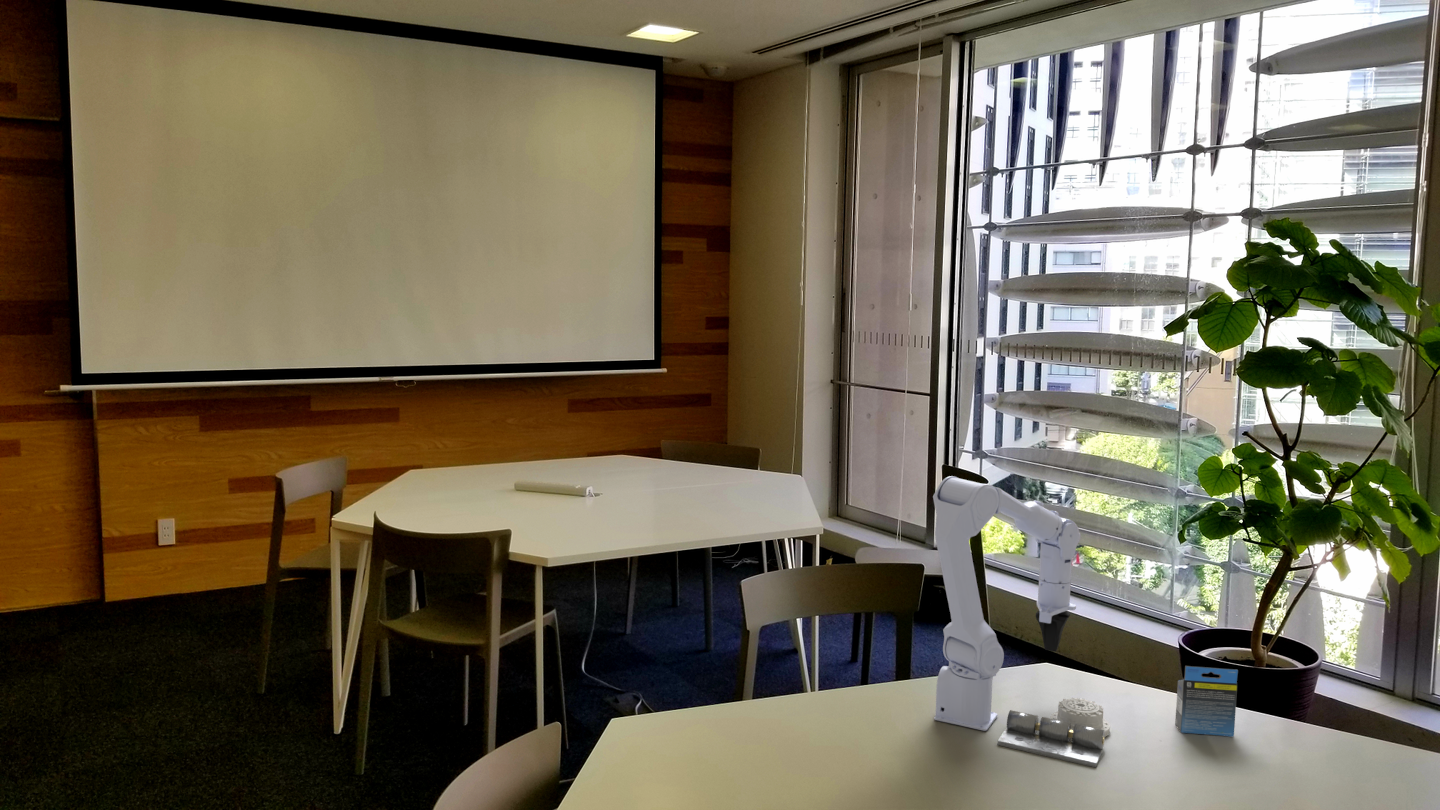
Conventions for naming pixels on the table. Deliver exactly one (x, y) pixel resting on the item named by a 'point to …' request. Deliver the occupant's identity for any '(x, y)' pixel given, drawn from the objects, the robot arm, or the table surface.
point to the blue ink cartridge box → (1207, 701)
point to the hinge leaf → (1053, 738)
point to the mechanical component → (1081, 714)
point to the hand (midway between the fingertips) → (1051, 649)
